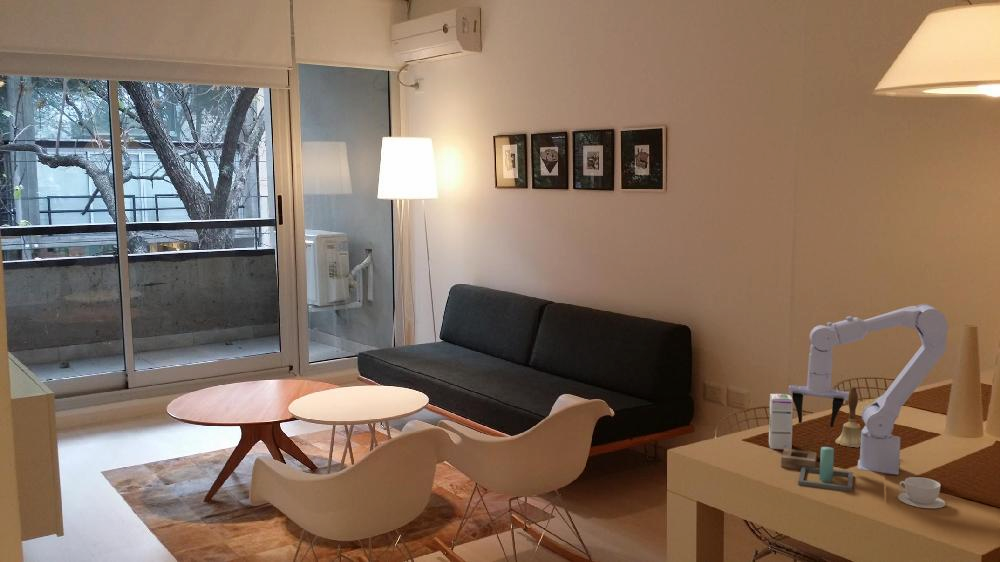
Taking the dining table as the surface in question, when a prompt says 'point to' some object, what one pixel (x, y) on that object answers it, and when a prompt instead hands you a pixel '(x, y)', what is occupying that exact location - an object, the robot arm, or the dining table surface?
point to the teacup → (921, 493)
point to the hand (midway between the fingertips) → (815, 424)
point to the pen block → (798, 458)
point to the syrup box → (780, 421)
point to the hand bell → (851, 424)
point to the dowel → (826, 464)
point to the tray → (825, 485)
